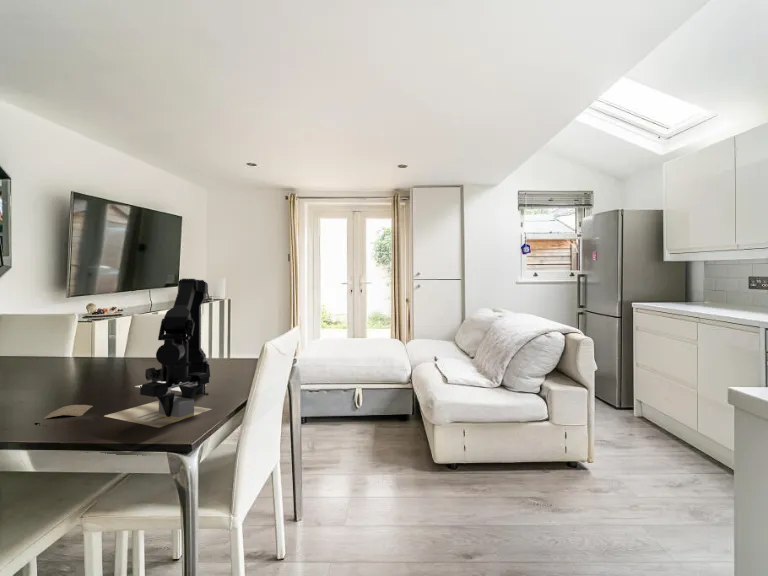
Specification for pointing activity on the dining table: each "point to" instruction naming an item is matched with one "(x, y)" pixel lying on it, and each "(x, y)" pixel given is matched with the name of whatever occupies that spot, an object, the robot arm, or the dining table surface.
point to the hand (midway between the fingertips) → (176, 414)
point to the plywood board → (149, 415)
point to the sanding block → (179, 408)
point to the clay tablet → (70, 411)
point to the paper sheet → (171, 388)
